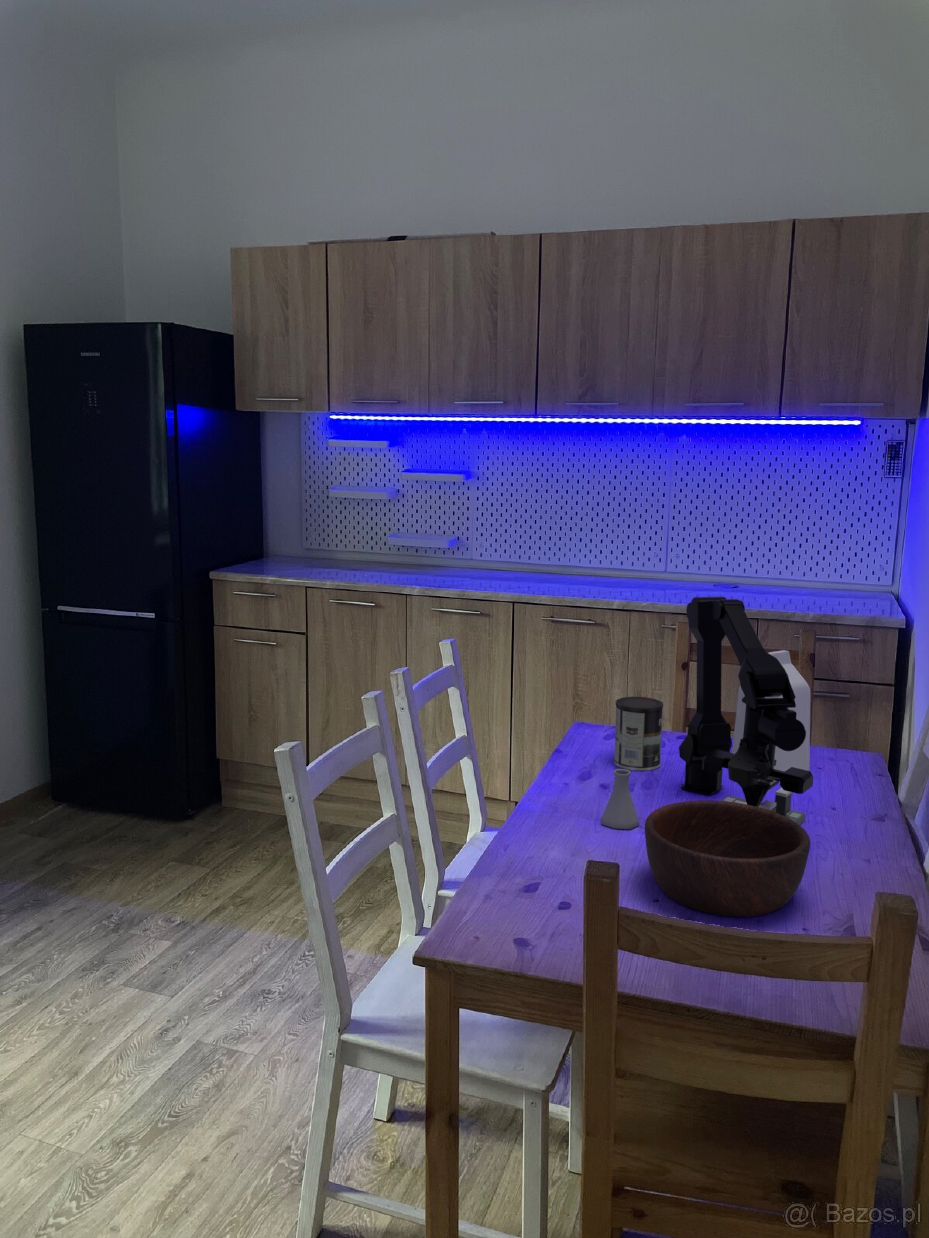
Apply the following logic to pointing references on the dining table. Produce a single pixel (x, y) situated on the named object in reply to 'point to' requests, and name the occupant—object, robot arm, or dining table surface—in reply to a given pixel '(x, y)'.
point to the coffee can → (638, 733)
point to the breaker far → (783, 801)
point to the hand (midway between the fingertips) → (752, 815)
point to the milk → (802, 693)
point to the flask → (620, 804)
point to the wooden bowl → (726, 856)
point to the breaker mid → (768, 805)
